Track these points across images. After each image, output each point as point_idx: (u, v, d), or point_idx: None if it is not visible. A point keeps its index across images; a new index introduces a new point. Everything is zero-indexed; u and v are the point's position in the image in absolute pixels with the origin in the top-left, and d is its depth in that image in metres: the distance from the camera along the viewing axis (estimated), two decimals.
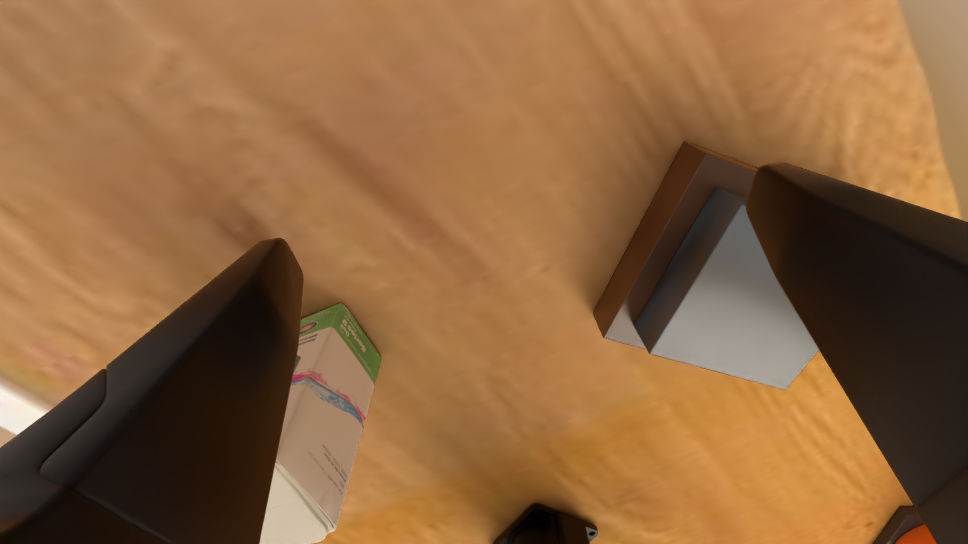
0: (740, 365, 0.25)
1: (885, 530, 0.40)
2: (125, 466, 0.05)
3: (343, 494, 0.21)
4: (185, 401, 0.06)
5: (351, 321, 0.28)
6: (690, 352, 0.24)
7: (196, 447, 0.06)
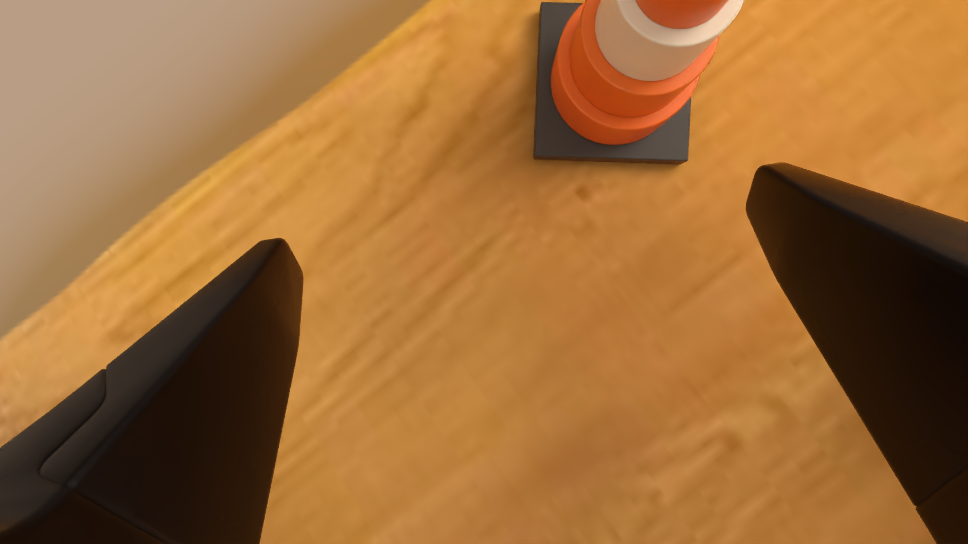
0: None
1: (595, 160, 0.23)
2: (125, 466, 0.05)
3: None
4: (185, 401, 0.06)
5: None
6: None
7: (196, 447, 0.06)
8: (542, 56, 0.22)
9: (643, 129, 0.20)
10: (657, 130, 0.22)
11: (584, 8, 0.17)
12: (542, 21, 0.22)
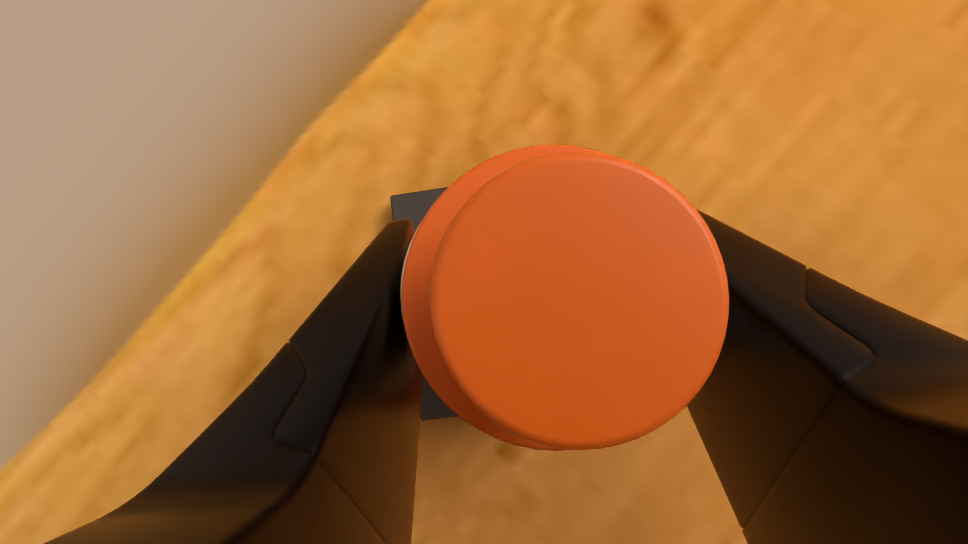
0: None
1: None
2: (344, 436, 0.05)
3: None
4: (371, 375, 0.06)
5: None
6: None
7: (378, 422, 0.06)
8: None
9: None
10: None
11: None
12: None
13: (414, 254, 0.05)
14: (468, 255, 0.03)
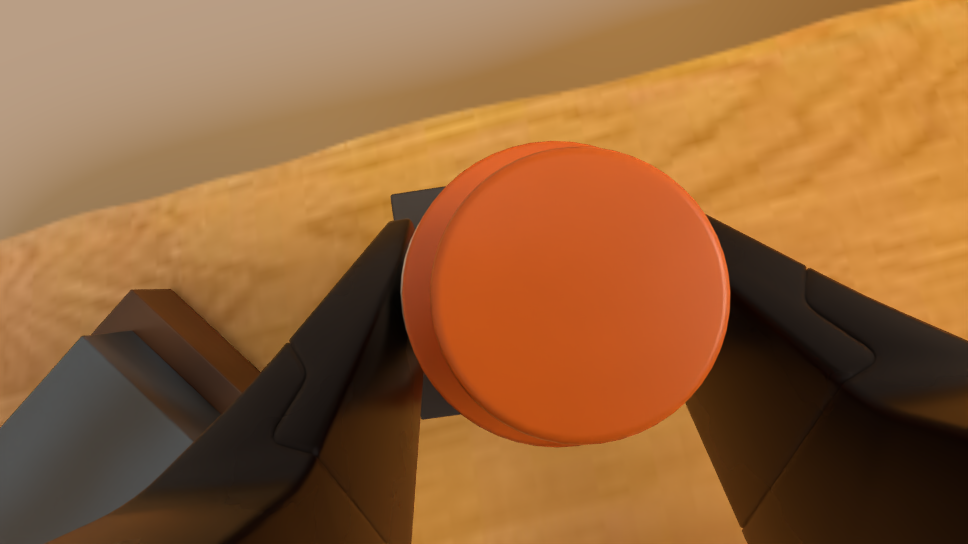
0: None
1: None
2: (345, 436, 0.05)
3: None
4: (372, 375, 0.06)
5: None
6: None
7: (379, 422, 0.06)
8: None
9: None
10: None
11: None
12: None
13: (415, 250, 0.05)
14: (469, 250, 0.03)
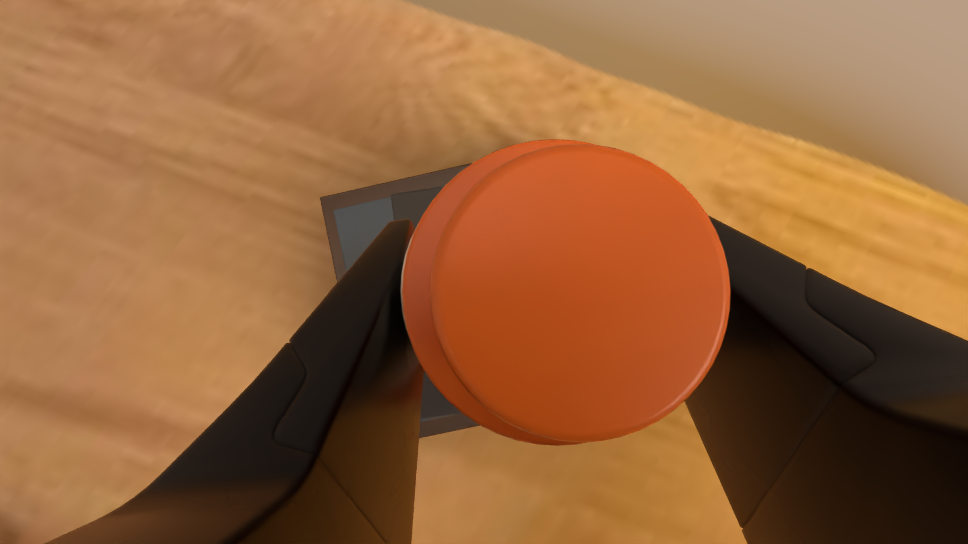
0: None
1: None
2: (344, 436, 0.05)
3: None
4: (372, 375, 0.06)
5: None
6: None
7: (379, 422, 0.06)
8: None
9: None
10: None
11: None
12: None
13: (415, 249, 0.05)
14: (469, 247, 0.03)
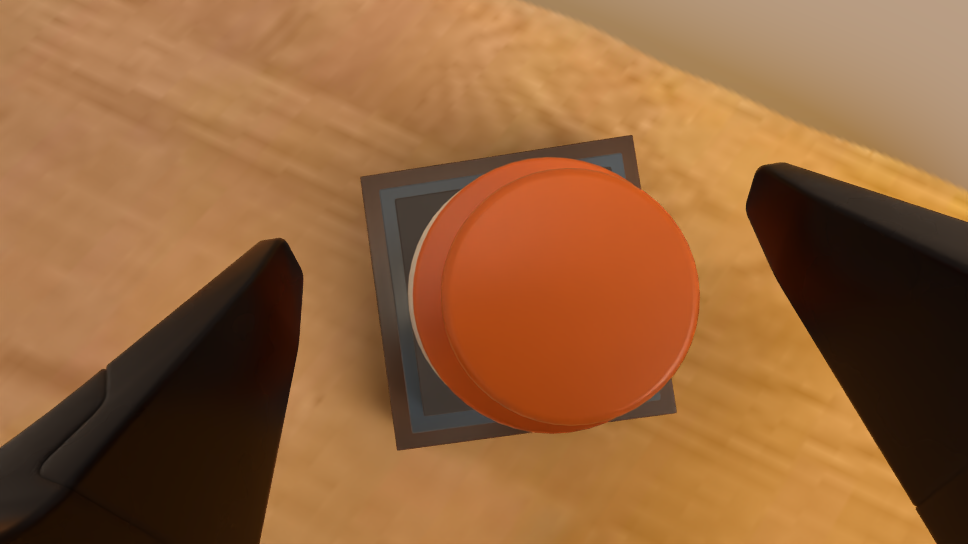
0: None
1: None
2: (125, 466, 0.05)
3: None
4: (185, 401, 0.06)
5: None
6: None
7: (196, 447, 0.06)
8: (409, 274, 0.15)
9: None
10: None
11: None
12: (400, 225, 0.15)
13: (424, 255, 0.05)
14: (474, 257, 0.04)
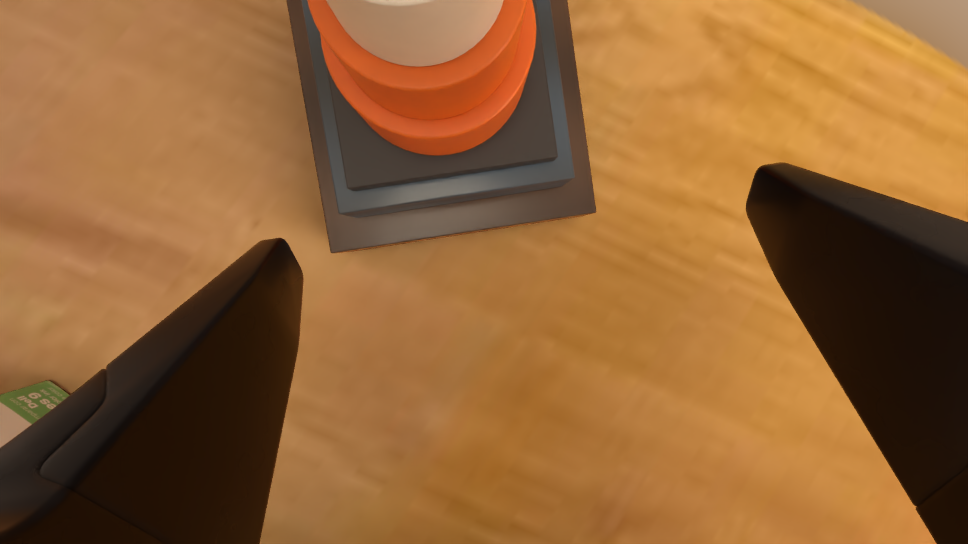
0: None
1: (437, 177, 0.16)
2: (125, 466, 0.05)
3: None
4: (185, 401, 0.06)
5: (57, 396, 0.21)
6: None
7: (196, 447, 0.06)
8: None
9: (471, 131, 0.13)
10: (508, 122, 0.16)
11: None
12: None
13: None
14: None
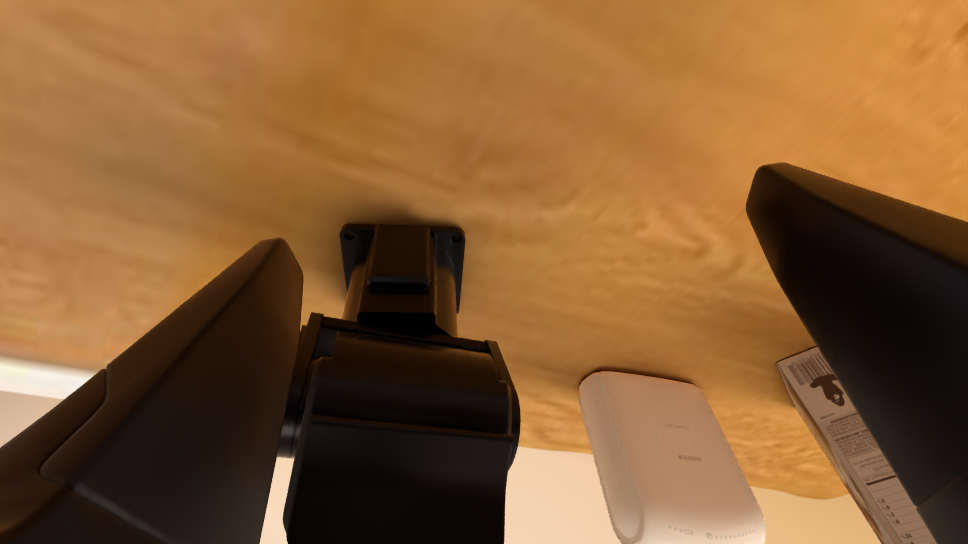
0: None
1: None
2: (125, 466, 0.05)
3: None
4: (185, 401, 0.06)
5: None
6: None
7: (196, 447, 0.06)
8: None
9: None
10: None
11: None
12: None
13: None
14: None
